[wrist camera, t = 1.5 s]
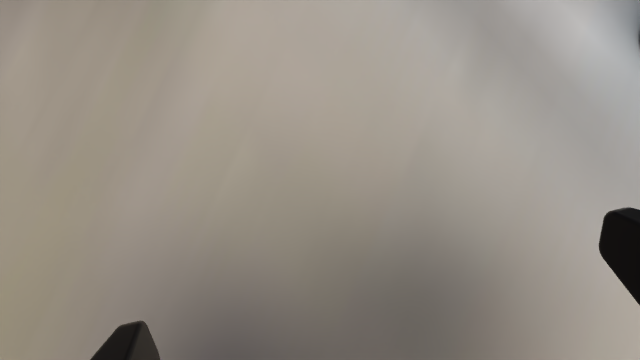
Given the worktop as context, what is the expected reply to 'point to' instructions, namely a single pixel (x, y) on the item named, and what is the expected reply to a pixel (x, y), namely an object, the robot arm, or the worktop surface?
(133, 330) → the robot arm
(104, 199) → the worktop surface
